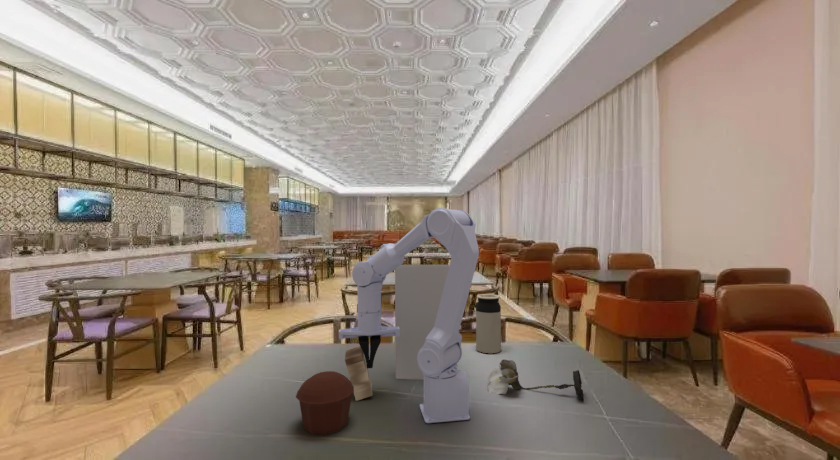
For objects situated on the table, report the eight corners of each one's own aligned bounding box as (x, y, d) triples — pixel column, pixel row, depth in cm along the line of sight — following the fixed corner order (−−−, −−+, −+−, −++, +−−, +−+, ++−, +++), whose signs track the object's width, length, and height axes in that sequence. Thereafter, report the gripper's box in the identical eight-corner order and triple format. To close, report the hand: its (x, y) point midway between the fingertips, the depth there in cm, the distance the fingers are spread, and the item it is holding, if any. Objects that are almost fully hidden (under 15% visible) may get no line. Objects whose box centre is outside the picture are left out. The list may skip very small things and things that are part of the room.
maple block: (371, 383, 96) (361, 345, 96) (372, 395, 89) (361, 354, 89) (356, 388, 95) (345, 350, 95) (355, 401, 89) (344, 359, 88)
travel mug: (494, 355, 120) (493, 298, 120) (472, 351, 125) (471, 296, 125) (505, 349, 126) (504, 295, 126) (483, 345, 131) (483, 293, 131)
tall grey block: (449, 372, 106) (448, 264, 106) (449, 380, 100) (448, 266, 101) (398, 371, 107) (398, 264, 107) (395, 378, 102) (395, 266, 102)
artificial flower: (586, 413, 85) (580, 374, 83) (487, 408, 94) (479, 372, 92) (584, 387, 93) (579, 351, 91) (493, 385, 102) (486, 351, 100)
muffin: (332, 405, 86) (332, 361, 86) (365, 421, 79) (365, 372, 79) (284, 426, 77) (284, 376, 77) (317, 445, 70) (317, 391, 70)
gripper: (397, 306, 98) (397, 359, 98) (339, 308, 95) (339, 363, 95) (400, 312, 91) (400, 369, 91) (338, 314, 89) (338, 373, 88)
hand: (369, 366), depth 93 cm, fingers closed
